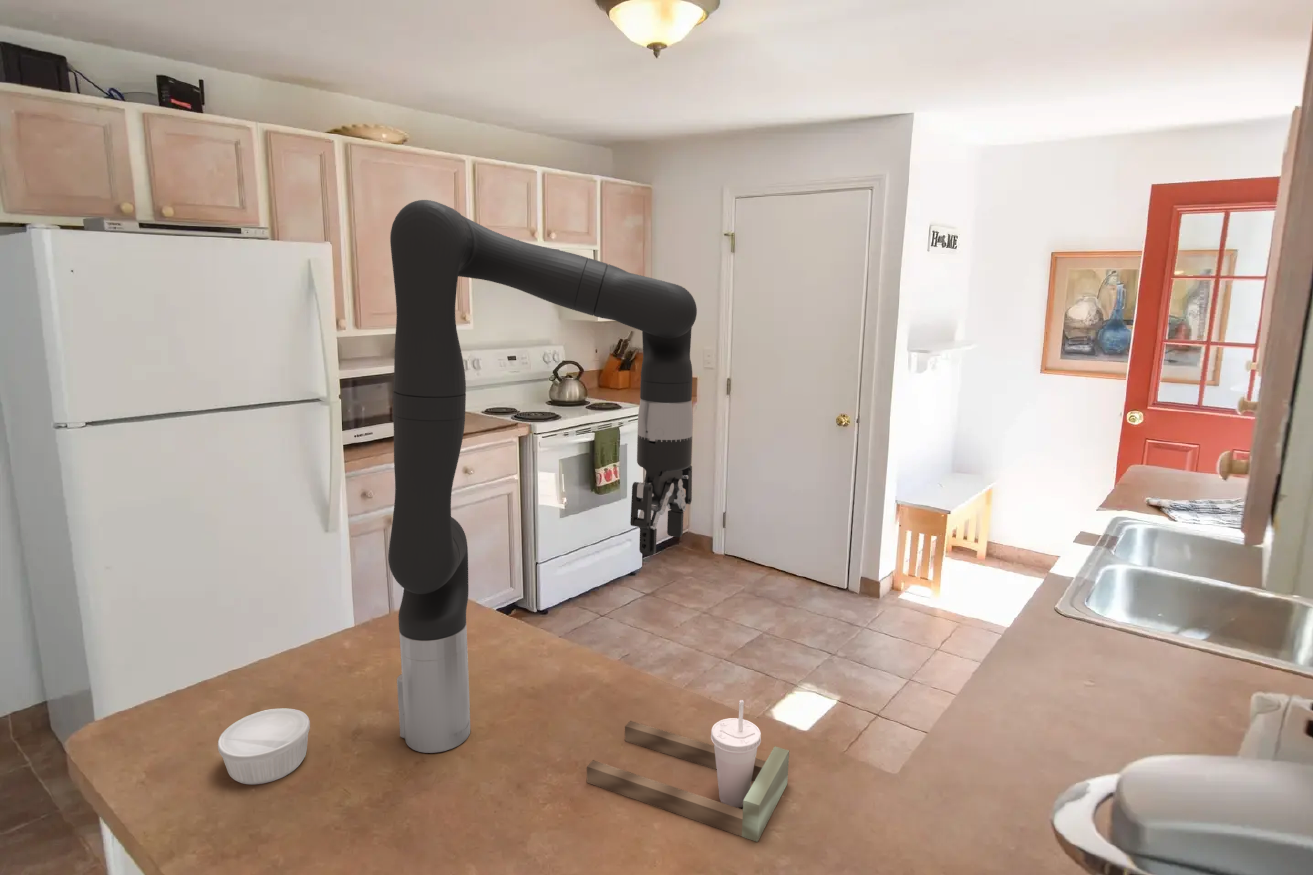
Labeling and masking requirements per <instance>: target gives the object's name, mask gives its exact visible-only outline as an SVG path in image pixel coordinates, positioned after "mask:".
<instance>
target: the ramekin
mask: <svg viewBox="0 0 1313 875" xmlns="http://www.w3.org/2000/svg"><path fill="white" fill-rule="evenodd" d="M310 727H311V722H310V718H309V716H308V715H307V714H306V713H305V712H304V711H302V710H299V709H294V708H285V707H284V708H282V707H281V708H280V707H279V708H270V709H265V710H261V711H257V712H254V713H252V714H249V715H246V716H244V717H243V718H242V717H241V719H239V720H237V721H235V722H233V723H232V724H231V725H229V726H228V727H227V728H226V729H224V731H222V732H221V734H220V735H219V738H218V739H217V740H218V741H217V750H218V753H219V755H220V756H221V757H222V759H223V763H224V765H225V767H226V771H227V773H228V775H229V777H231V779H233V780H234V781H236V782H238V783H241V784H244V785H252V786H253V785H262V784H266V783H271V782H274V781H277V780H279V779H282V778H285V777H286V776H287V775H290V774H291V773H293V772H294V771H295V770H297V768H298V767H299V766H300V765H301V764H302V762H303V760H304V759H305V757H306V754H307V751H308V742H309V741H308V739H309V733H310V732H309V731H310V729H311V728H310Z"/></svg>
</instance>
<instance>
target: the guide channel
mask: <svg viewBox="0 0 1313 875" xmlns="http://www.w3.org/2000/svg"><path fill="white" fill-rule="evenodd" d="M624 741H625V742H627V743H629V744H630V743H631V744H634V745H637V746H641V747H643V748H645V749H646V748H647V749H650V750H653V751H656V752H659V753H663V754H664V755H669V756H672V757H676V758H678V759H682V760H685V761H687V762H688V761H689V762H691V763H694V764H698V765H701V766H702V767H703V766H704V767H707V768H709V769H713V768H714V769H713V770H716V769H717V768H716V759H715V750H714V744H709V743H708V742H703V741H699V740H697V739H692V738H690V737H686V736H682V735H680V734H676V733H674V732H669V731H667V730H663V729H660V728H656V727H653V726H650V725H646V724H643V723H639V722H638V721H637V722H636V721H633V720H629V721H628V723H626V724H625V725H624ZM789 758H790V750H789V749H785V748H782V747H778V746H774V747H773V748H772V750H771V751H770V754H769V755H768V757H767V759H766V760H763V759H760V758H757V757H756V758H755V764H754V769H753V775H752V780H751V782H753V783H751V786H750V790H749V791H748V793H747V795H746V797H745V798H744V800H743V806H742V809H741V808H740V807H739V808H736V807H733V806H730V805H727V804H724V803H722V802H721V801H717V800H714V799H712V798H708V797H705V796H702V795H700V794H696V793H693V792H691V791H687V790H686V789H685V790H684V789H681V788H678V787H676V786H673V785H669V784H667V783H663V782H661V781H657V780H654V779H652V778H649V777H645V776H642V775H640V774H636V773H634V772H631V771H627V770H625V769H621V768H619V767H615V766H612V765H609V764H607V763H603V762H601V761H599V760H595V759H593V760H591V762H590V763H588V764H587V765H586V783H588V784H591V785H594V786H596V787H598V788H602V789H605V790H607V791H610V792H612V793H616V794H618V795H622V796H625V797H628V798H631V799H633V800H637V801H639V802H642V803H644V804H648V805H650V806H654V807H656V808H659V809H662V810H665V811H668V812H671V813H673V814H676V815H679V816H682V817H683V818H684V817H685V818H687V819H690V820H693V821H697V822H699V823H702V824H704V825H708V826H709V827H713V828H715V829H719V830H722V831H725V832H727V833H730V834H733V835H736V836H738V837H742V838H745V839H747V840H750V841H754V842H755V843H758V842H759V840H760V838H761V836H762V835H763V832H764V830H765V828H766V826H767V825H768V822H769V820H770V819H771V817H772V815H773V813H774V811H775V809H776V806H777V804H778V803H779V801H780V799H781V797H782V795H783V793H784V791H785V789H786V787H787V785H788V778H789V777H788V776H789V762H790V761H789Z"/></svg>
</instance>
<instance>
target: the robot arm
mask: <svg viewBox="0 0 1313 875" xmlns="http://www.w3.org/2000/svg"><path fill="white" fill-rule="evenodd" d="M389 239H390V253H391V262H392V271H393V272H392V273H393V281H394V294H395V306H396V319H395V320H396V322H395V323H396V324H395V337H394V338H395V340H394V357H393V358H394V359H393V361H394V365H393V366H394V368H393V386H392V388H393V389H392V391H393V392H392V399H393V400H392V419H393V421H392V422H393V423H392V424H393V464H394V465H393V466H394V467H393V468H394V482H395V483H394V489H395V490H394V505H393V514H392V521H391V528H390V529H391V530H390V537H389V538H390V539H389V544H388V553H387V554H388V559H387V560H388V566H389V570H390V571H391V575H392V576H393V578H394V580H395V581H396V582H397V583H398V585H399V586H400V587H401V588H403V592H402V598H401V602H400V607H399V610H398V616H397V617H398V633H399V646H400V647H399V649H400V662H401V663H400V664H401V674H399V675H398V677H396V688H397V689H396V690H397V705H398V721H399V737H400V738H403V739H404V740H405V743H406V745H407V746H408V748H410V749H412V750H413V751H416V752H419V753H426V754H428V753H430V754H433V753H435V754H436V753H442V752H446V751H448V750H452V749H454V748H456V747H459V746H460V745H462V744H463V743H464V742H465V741H467V739H468V738H469V736H470V733H471V713H470V710H471V707H470V685H469V684H470V683H469V682H470V680H469V679H470V678H469V658H468V653H469V651H468V634H467V633H468V632H467V631H468V630H467V607H468V601H469V549H468V540H467V536H466V533H465V530H464V528H463V527H462V525H461V524H460V523H459V522H458V521H457V519H455V518H454V517H452V493H453V492H452V490H453V485H454V481H455V475H456V470H457V467H458V462H459V459H460V453H461V449H462V443H463V438H464V431H465V426H466V425H465V423H466V399H467V398H466V397H467V394H466V393H467V384H466V382H467V381H466V372H465V365H464V360H463V354H462V349H461V345H460V340H459V339H460V338H459V335H458V330H457V323H456V320H457V319H456V302H457V301H456V300H457V287H458V281H459V280H458V279H459V277H461V278H469V279H475V280H482V281H487V282H492V283H496V284H499V285H504V286H507V287H510V288H513V289H517V290H519V291H522V292H524V293H526V294H529V295H531V296H533V297H536V298H539V299H541V300H544V301H546V302H549V303H552V304H554V305H557V306H559V307H564V308H565V309H569V310H572V311H575V312H578V313H583V314H586V315H588V316H594V317H596V318H600V319H605V320H611V321H615V322H618V323H620V324H623V325H625V326H628V327H631V328H633V329H636V330H637V331H641V332H642V333H641V336H642V339H641V340H642V356H643V357H642V363H641V370H640V383H639V384H640V386H639V387H640V390H639V391H640V392H639V393H640V394H639V399H640V400H639V407H638V412H637V439H636V440H637V441H636V443H637V446H636V463H637V465H638V466H639V467H641V468H643V469H644V471H645V477H644V481H643V482H637V481H634V482H633V483H632V487H631V489H632V490H631V501H630V502H631V504H630V521H629V523H630V526H632V527H637V528H639V553H640V554H641V555H646V556H653V555H655V554H656V553H657V531H658V530H657V525H658V522H659V520H660V517H661V516H663V515H664V513H665V512H666V508H667V509H668V510H667V521H666V522H667V526H666V527H667V528H666V529H667V530H666V533H667V535H668V536H669V537H673V538H680V537H682V536H683V535H684V512H686V511H687V505H691V503H692V501H693V500H692V498H693V495H692V494H693V490H692V489H693V466H692V453H693V429H694V428H693V427H694V426H693V425H694V424H693V423H694V415H693V414H694V413H693V402H692V398H693V365H692V361H691V344H692V329H693V326H694V324H695V321H696V319H697V313H698V309H697V308H698V307H697V303H696V300H695V299H694V298H695V297H694V296H693V295H692V293H691V292H690V291H689V290H688V289H686V288H685V287H684V286H682V285H679V284H676V283H671V282H669V281H665V280H660V279H656V278H652V277H649V276H644V275H641V274H636V273H632V272H628V271H626V270H624V269H622V268H620V267H619V266H618V267H617V266H615V265H612V264H611V263H610V264H608V263H606V262H602V261H599V260H596V259H594V258H590V257H587V256H583V255H580V254H577V253H576V254H575V253H573V252H568V251H564V250H560V249H555V248H552V247H551V248H550V247H547V246H542V245H538V244H537V245H536V244H533V243H529V242H526V241H522V240H519V239H515V238H513V237H510V236H507V235H504V234H501V233H499V232H497V231H494V230H492V229H489V228H487V227H486V226H484V225H482V224H479V223H478V222H475V221H473V220H471V219H469V218H467V217H465V216H464V215H462V214H461V213H460V212H459V211H457V210H455V209H454V208H452V207H451V206H447V205H446V204H443V203H441V202H439V201H438V202H437V201H435V200H432V199H431V200H429V199H419V200H413V201H411V202H409V203H408V204H406V205H405V206H404V207H402V208H401V209H400V210H399V211H398V213H397V214H396V216H395V217H394V220H393V222H392V225H391V228H390V237H389Z"/></svg>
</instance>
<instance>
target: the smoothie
mask: <svg viewBox="0 0 1313 875" xmlns="http://www.w3.org/2000/svg"><path fill="white" fill-rule="evenodd" d="M744 703H745V701H744V700H743V699H739V703H738V704H739V705H738V718H737V717H732V718H731V717H729V718H724V719H720V720H718V721H717V722H715V723H714V724H713V726H712V727H711V734H710V739H711V741H712V743H713V745H714V750H715V759H716V768H717V770H716V777H717V784H718V785H717V786H718V795H719V797H718V798H719V800H720V801H719V802H721V803H724V804H727V805H730V806H733V807H736V808H739V809H740V808H743V800H744V798H745V797H746V795H747V793H748V791H749V790H750V788H751V786H752V781H751V780H752V775H753V769H754V764H755V758H757V752H758V747H759V746H760V745H761V742H762V738H761V736H762V734H761V730H760V729H759V727H758V726H757V725H756V724H755V723H753V722H752V721H749V720H747V719H744V705H745V704H744Z"/></svg>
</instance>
